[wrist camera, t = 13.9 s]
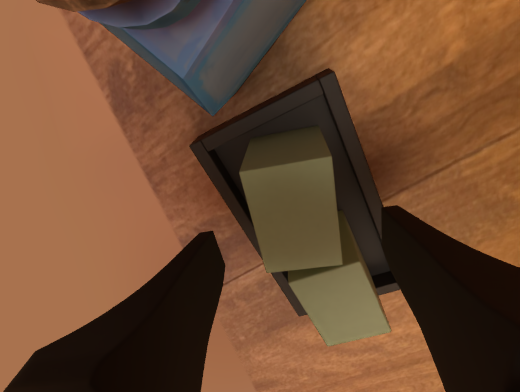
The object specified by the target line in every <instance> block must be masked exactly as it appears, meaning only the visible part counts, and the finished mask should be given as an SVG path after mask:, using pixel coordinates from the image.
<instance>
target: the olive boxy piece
mask: <svg viewBox="0 0 520 392" xmlns="http://www.w3.org/2000/svg"><path fill="white" fill-rule="evenodd" d="M239 174H240V178H241V182H242V185H243V189H244V193H245V196H246V200H247V204H248V207H249V211H250V214H251V218H252V222H253V225H254V229H255V233H256V236H257V240H258V244H259V247H260V251H261V255H262V258H263V262H264V266H265V269H266V272H267V273H271V272H281V271H290V270H299V269H308V268H318V267H327V266H336V265H342V264H343V261H342V251H341V241H340V231H339V222H338V212H337V202H336V192H335V182H334V172H333V162H332V156H331V153H330V151H329V149H328V146H327V144H326V142H325V139H324V137H323V135H322V132H321V130H320V128H319V126H318V125H317V126H311V127H306V128H301V129H296V130H291V131H286V132H280V133H275V134H270V135H265V136H260V137H254V138H251V139H250V142H249V145H248V148H247V151H246V154H245V157H244V159H243V162H242V165H241V168H240V171H239Z"/></svg>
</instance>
